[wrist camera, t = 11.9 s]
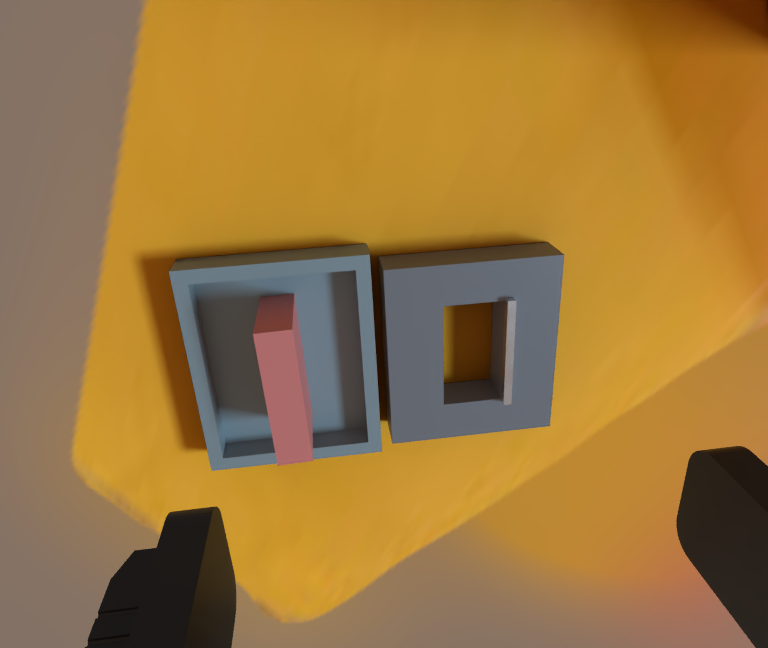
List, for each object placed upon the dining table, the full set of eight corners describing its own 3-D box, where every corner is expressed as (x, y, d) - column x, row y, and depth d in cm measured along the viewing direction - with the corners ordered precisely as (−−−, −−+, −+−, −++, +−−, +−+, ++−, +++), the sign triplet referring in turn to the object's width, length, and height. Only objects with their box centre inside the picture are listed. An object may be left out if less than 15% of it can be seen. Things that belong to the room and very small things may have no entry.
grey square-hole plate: (547, 241, 43) (567, 257, 39) (536, 405, 48) (552, 430, 45) (378, 256, 42) (384, 273, 38) (387, 421, 47) (393, 448, 44)
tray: (366, 243, 41) (369, 254, 39) (378, 432, 48) (381, 451, 46) (176, 259, 40) (168, 271, 38) (216, 450, 47) (211, 470, 44)
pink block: (312, 412, 46) (294, 293, 41) (312, 460, 40) (292, 329, 36) (281, 416, 45) (260, 297, 41) (277, 465, 40) (252, 334, 36)
